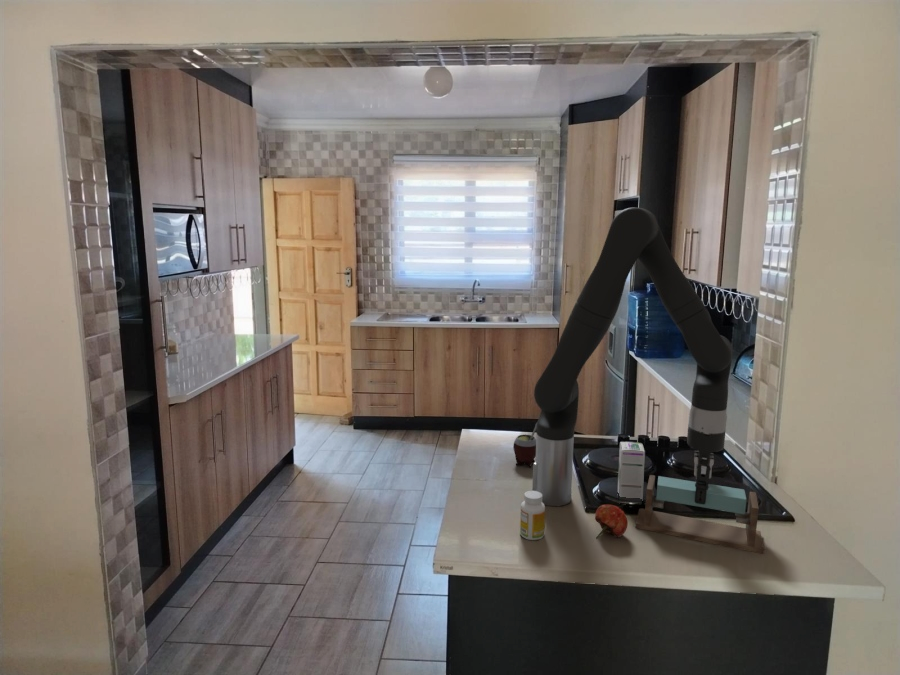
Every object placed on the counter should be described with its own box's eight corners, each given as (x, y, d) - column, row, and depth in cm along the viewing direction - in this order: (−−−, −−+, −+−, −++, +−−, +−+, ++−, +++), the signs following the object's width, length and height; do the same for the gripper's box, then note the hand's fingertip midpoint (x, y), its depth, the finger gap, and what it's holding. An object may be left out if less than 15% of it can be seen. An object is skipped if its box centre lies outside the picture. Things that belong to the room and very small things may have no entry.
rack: (635, 527, 131) (638, 487, 129) (639, 511, 138) (641, 473, 136) (763, 553, 121) (768, 510, 119) (760, 535, 128) (764, 494, 126)
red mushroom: (613, 555, 124) (644, 523, 126) (595, 533, 122) (626, 500, 124) (594, 541, 131) (624, 510, 133) (577, 520, 129) (607, 489, 131)
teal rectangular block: (656, 499, 129) (657, 484, 128) (657, 489, 134) (658, 476, 133) (744, 514, 123) (746, 499, 122) (742, 504, 127) (744, 489, 127)
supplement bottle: (546, 530, 130) (547, 491, 128) (541, 542, 125) (543, 501, 123) (522, 526, 132) (523, 487, 130) (517, 538, 127) (518, 497, 125)
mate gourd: (508, 461, 168) (509, 412, 165) (531, 456, 171) (532, 409, 168) (522, 470, 161) (523, 420, 158) (545, 466, 164) (547, 416, 162)
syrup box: (642, 506, 141) (646, 451, 138) (617, 503, 142) (621, 449, 139) (639, 495, 147) (643, 442, 144) (616, 493, 148) (619, 440, 145)
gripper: (689, 413, 133) (683, 481, 136) (687, 434, 120) (680, 508, 123) (724, 418, 130) (717, 487, 133) (726, 439, 117) (719, 515, 120)
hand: (700, 497), depth 128 cm, fingers closed on teal rectangular block, 5 cm apart
